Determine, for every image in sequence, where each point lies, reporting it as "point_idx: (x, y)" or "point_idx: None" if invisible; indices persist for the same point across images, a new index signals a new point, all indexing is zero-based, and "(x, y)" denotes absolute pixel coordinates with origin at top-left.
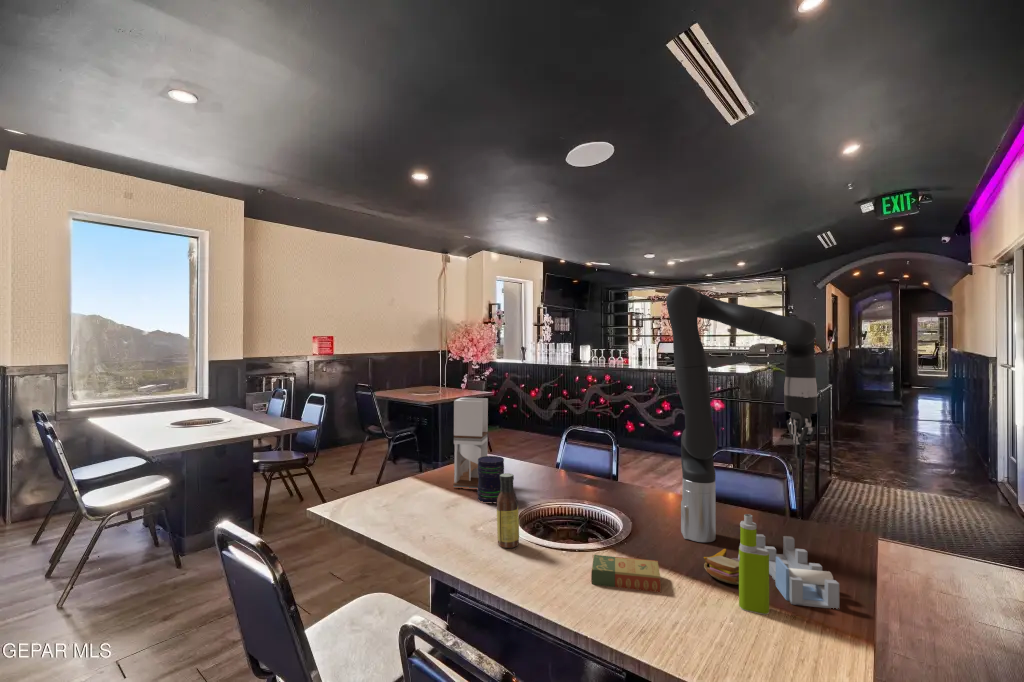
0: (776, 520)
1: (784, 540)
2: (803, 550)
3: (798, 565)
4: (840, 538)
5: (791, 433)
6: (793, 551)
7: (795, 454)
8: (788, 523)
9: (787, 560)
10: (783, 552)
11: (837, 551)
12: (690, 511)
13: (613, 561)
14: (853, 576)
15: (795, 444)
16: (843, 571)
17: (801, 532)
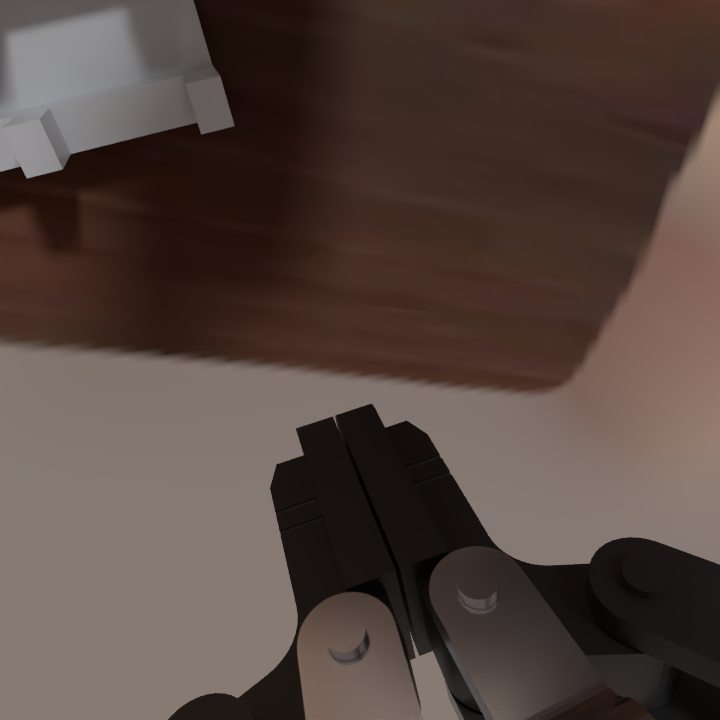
0: (663, 93)
1: (201, 77)
2: (36, 160)
3: (9, 116)
4: (508, 315)
5: (639, 710)
6: (178, 114)
7: (362, 430)
8: (632, 144)
9: (139, 74)
10: (209, 65)
11: (374, 293)
12: None
13: None
14: (143, 317)
15: (418, 557)
16: (174, 291)
17: (538, 186)
